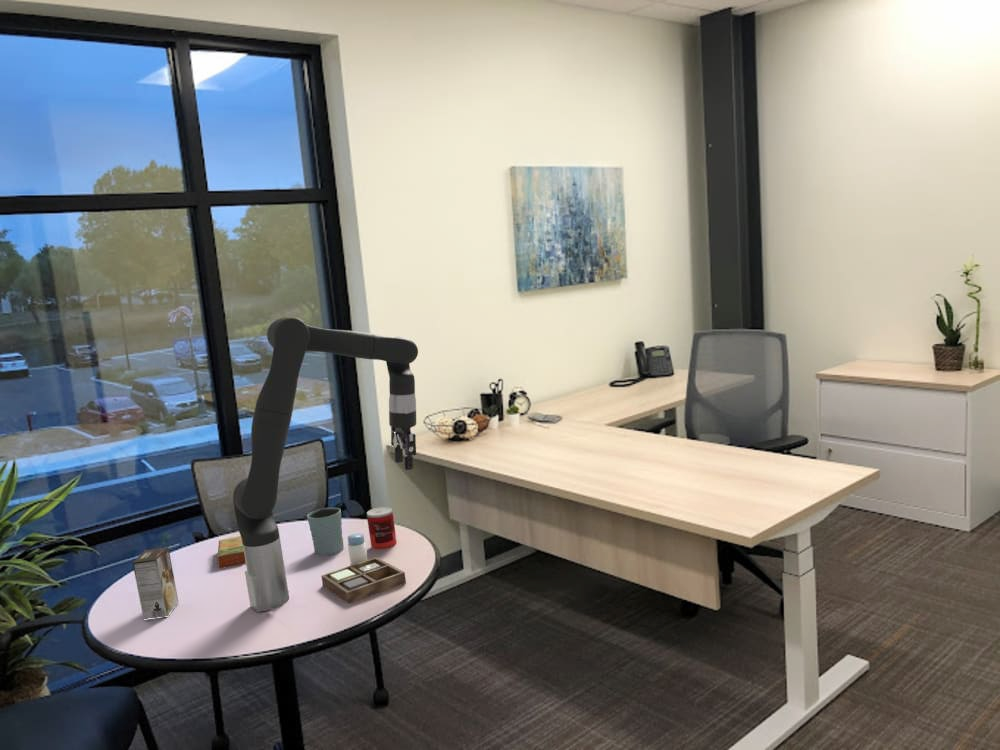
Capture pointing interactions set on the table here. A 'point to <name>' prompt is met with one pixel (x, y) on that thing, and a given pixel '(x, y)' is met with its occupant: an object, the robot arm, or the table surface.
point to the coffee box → (155, 583)
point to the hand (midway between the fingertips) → (403, 465)
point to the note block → (342, 575)
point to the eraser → (355, 583)
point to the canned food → (381, 527)
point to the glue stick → (357, 548)
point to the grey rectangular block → (369, 567)
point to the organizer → (376, 579)
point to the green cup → (326, 530)
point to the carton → (230, 552)
